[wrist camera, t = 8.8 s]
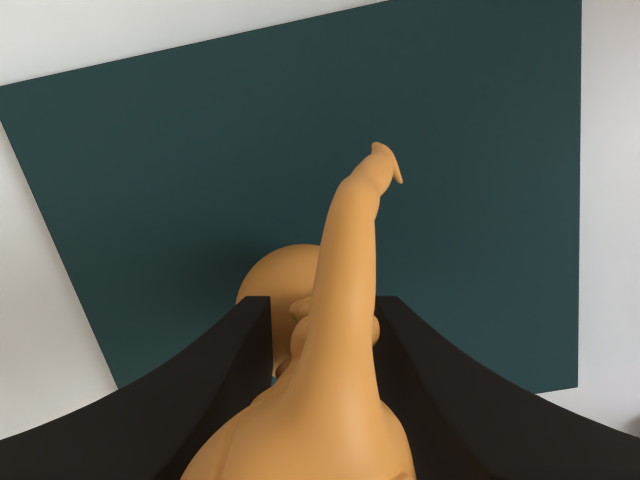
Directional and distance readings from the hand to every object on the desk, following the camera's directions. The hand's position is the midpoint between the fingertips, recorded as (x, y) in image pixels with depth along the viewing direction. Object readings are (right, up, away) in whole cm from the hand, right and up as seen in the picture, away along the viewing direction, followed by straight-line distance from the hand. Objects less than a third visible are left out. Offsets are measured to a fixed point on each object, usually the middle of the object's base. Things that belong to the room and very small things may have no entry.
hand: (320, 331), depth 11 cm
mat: (0, +2, +5) cm, 5 cm away
